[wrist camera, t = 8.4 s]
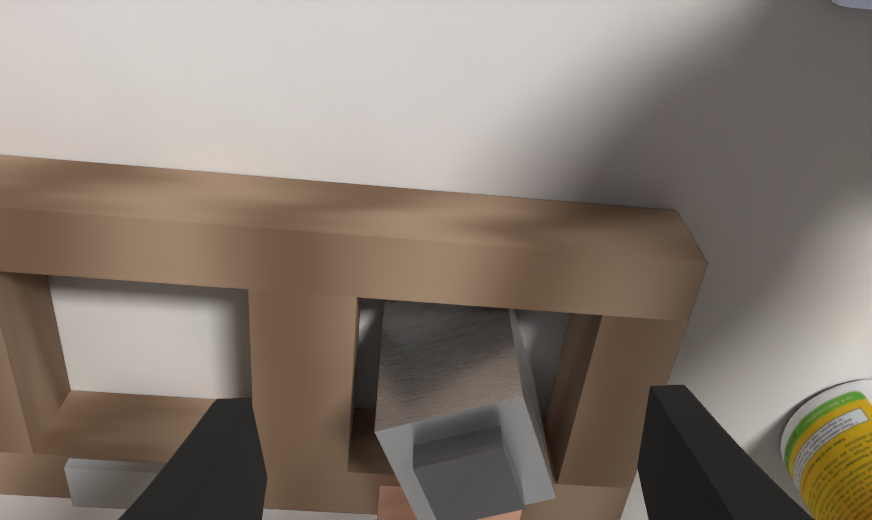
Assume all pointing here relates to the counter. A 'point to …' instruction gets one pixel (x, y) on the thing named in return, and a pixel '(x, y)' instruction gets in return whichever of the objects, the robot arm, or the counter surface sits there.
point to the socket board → (327, 322)
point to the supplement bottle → (833, 452)
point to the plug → (460, 411)
